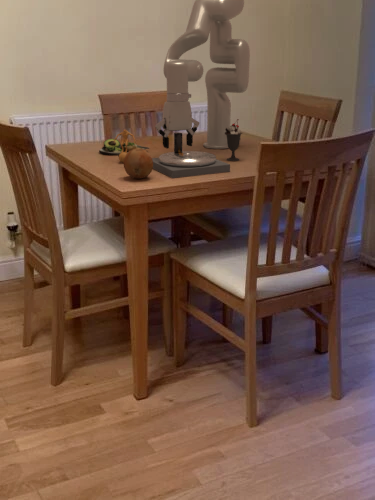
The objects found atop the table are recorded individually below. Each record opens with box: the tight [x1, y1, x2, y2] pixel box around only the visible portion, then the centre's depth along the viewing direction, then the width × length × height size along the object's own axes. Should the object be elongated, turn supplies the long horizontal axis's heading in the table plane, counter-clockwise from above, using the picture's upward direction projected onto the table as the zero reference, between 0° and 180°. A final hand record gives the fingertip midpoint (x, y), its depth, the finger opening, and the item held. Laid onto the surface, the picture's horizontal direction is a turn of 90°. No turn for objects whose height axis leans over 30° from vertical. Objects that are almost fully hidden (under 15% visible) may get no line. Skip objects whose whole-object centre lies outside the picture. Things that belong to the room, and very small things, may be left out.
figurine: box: [114, 129, 137, 164], centre depth 235 cm, size 8×6×12 cm
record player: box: [158, 131, 217, 167], centre depth 225 cm, size 20×20×8 cm
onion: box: [123, 148, 154, 180], centre depth 212 cm, size 10×10×10 cm
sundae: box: [225, 118, 243, 162], centre depth 239 cm, size 7×7×15 cm
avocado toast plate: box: [98, 138, 150, 156], centre depth 256 cm, size 19×18×5 cm
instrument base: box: [152, 157, 231, 179], centre depth 227 cm, size 22×22×3 cm
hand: (177, 146), depth 232 cm, fingers open, 8 cm apart
